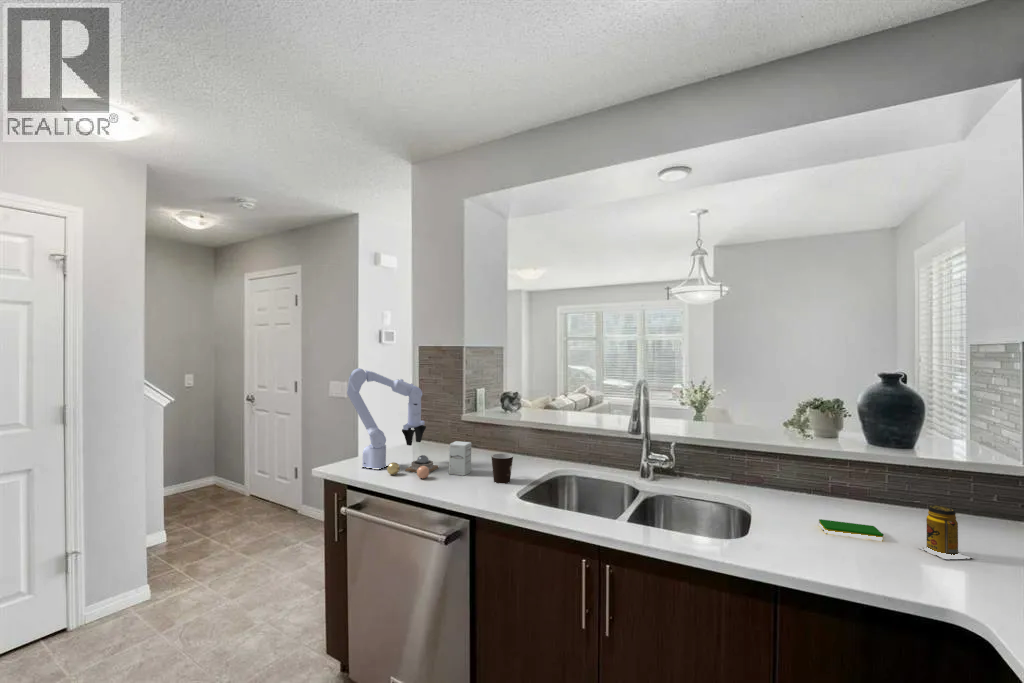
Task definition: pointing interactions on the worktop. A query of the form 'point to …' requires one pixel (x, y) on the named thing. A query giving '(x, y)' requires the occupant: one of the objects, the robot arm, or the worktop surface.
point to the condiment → (942, 530)
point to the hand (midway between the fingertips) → (413, 443)
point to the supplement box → (460, 458)
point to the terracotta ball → (422, 472)
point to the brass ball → (393, 468)
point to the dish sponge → (850, 528)
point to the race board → (415, 466)
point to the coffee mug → (502, 467)
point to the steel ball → (422, 460)
